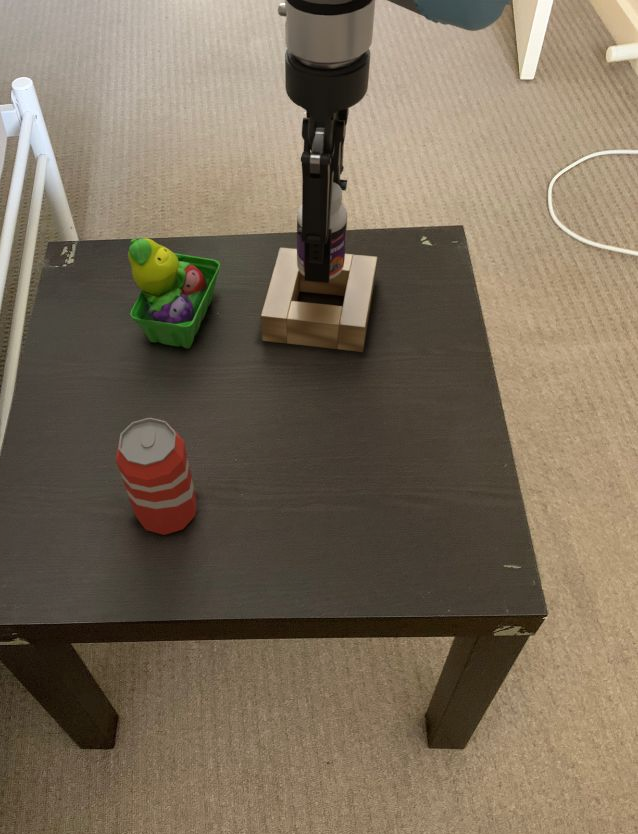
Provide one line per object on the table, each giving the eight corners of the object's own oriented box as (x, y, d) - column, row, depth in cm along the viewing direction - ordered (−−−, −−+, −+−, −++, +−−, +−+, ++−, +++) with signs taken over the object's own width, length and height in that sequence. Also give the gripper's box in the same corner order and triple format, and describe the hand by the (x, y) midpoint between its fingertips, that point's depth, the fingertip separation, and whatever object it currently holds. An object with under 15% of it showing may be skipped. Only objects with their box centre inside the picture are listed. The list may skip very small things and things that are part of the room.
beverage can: (198, 484, 79) (183, 411, 68) (195, 537, 75) (179, 468, 65) (140, 486, 79) (117, 413, 69) (134, 538, 75) (109, 470, 65)
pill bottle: (304, 286, 84) (305, 212, 76) (291, 256, 87) (290, 181, 79) (350, 276, 85) (356, 201, 76) (335, 246, 88) (339, 171, 79)
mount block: (374, 282, 94) (377, 256, 90) (362, 352, 88) (365, 327, 84) (280, 273, 95) (279, 247, 92) (262, 340, 89) (260, 315, 86)
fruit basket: (196, 359, 88) (183, 284, 79) (126, 346, 90) (105, 271, 80) (225, 293, 94) (217, 216, 84) (159, 282, 96) (143, 205, 86)
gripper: (302, -6, 71) (302, 207, 90) (265, 103, 61) (273, 314, 81) (382, -2, 70) (364, 212, 89) (357, 109, 60) (342, 322, 80)
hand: (321, 260), depth 85 cm, fingers closed on pill bottle, 5 cm apart
